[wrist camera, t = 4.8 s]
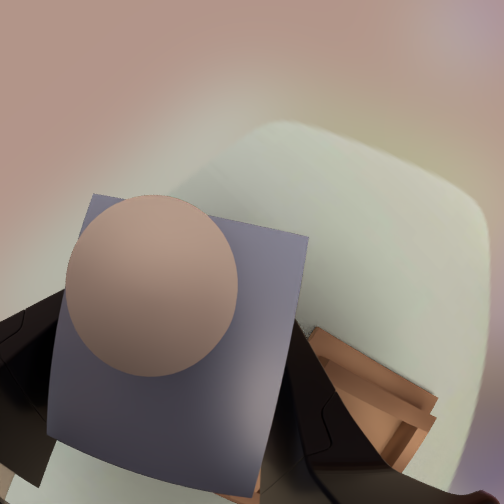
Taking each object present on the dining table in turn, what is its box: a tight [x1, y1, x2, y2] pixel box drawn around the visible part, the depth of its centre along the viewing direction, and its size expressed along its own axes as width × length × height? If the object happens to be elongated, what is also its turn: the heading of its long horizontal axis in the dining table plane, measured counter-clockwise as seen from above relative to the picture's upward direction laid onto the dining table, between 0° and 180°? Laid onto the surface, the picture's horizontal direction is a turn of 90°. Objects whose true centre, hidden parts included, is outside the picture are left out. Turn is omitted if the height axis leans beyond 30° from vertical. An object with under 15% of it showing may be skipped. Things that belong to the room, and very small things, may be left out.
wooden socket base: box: [215, 327, 438, 504], centre depth 16 cm, size 14×12×3 cm
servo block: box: [47, 194, 309, 498], centre depth 10 cm, size 8×5×12 cm, turn 168°
